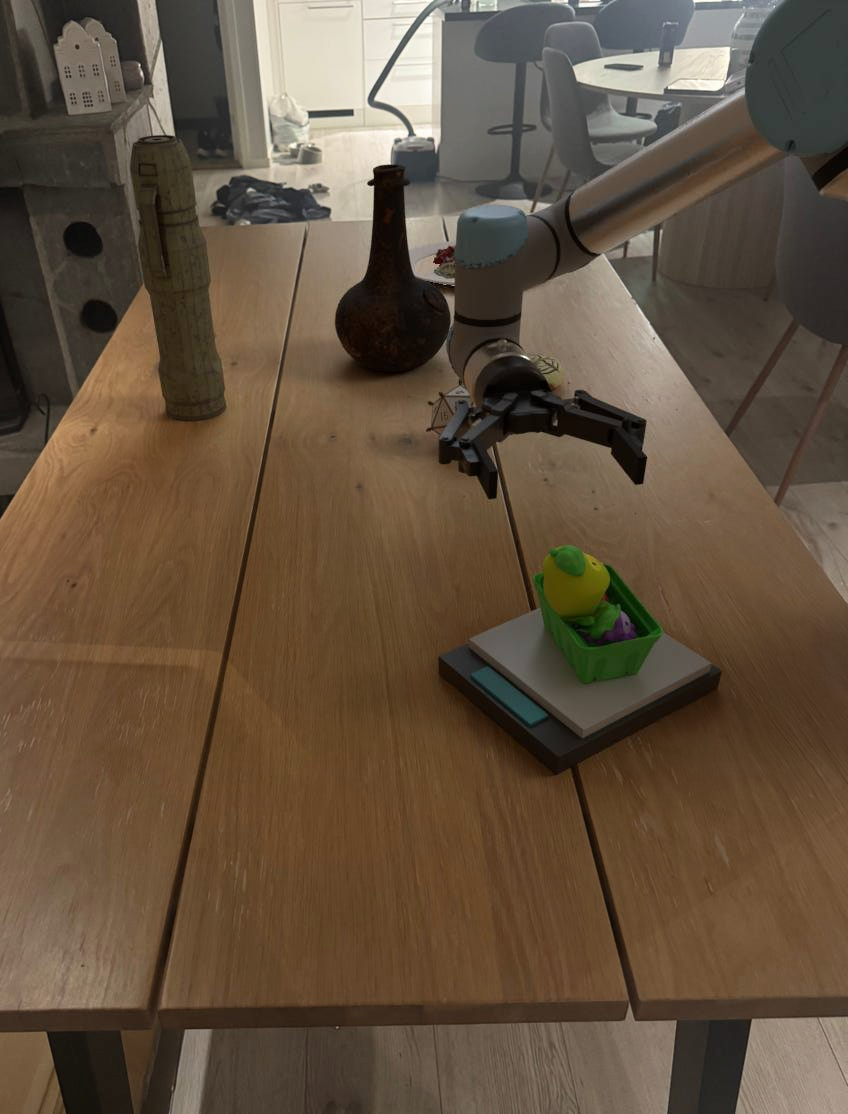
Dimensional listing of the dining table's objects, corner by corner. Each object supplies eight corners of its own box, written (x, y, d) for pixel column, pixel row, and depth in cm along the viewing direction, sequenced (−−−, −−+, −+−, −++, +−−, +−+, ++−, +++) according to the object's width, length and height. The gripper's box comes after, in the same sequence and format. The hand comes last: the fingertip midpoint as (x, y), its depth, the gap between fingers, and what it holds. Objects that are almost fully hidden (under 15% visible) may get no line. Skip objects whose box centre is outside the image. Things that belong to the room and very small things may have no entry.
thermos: (154, 425, 134) (105, 148, 113) (177, 392, 143) (136, 130, 122) (216, 426, 133) (178, 147, 112) (235, 393, 142) (203, 129, 121)
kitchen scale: (718, 688, 85) (724, 661, 83) (556, 775, 77) (559, 747, 75) (591, 604, 96) (594, 579, 94) (438, 673, 88) (438, 647, 86)
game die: (451, 464, 130) (454, 390, 130) (505, 457, 124) (507, 380, 124) (410, 452, 123) (413, 375, 123) (464, 445, 117) (467, 363, 117)
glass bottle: (418, 391, 141) (418, 184, 124) (315, 371, 148) (302, 174, 131) (468, 351, 153) (475, 158, 136) (371, 335, 160) (365, 150, 144)
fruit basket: (659, 681, 81) (681, 569, 74) (561, 699, 80) (574, 586, 73) (602, 607, 90) (617, 501, 83) (513, 622, 89) (521, 515, 82)
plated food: (507, 302, 172) (508, 283, 170) (367, 280, 185) (367, 262, 183) (574, 260, 192) (576, 243, 190) (444, 242, 205) (444, 226, 203)
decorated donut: (572, 395, 138) (575, 370, 135) (501, 403, 136) (502, 377, 134) (548, 369, 146) (550, 345, 144) (480, 376, 144) (481, 351, 142)
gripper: (391, 363, 99) (430, 452, 82) (624, 344, 101) (709, 426, 84) (392, 431, 103) (430, 528, 86) (615, 411, 106) (694, 502, 89)
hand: (567, 478), depth 85 cm, fingers open, 13 cm apart
